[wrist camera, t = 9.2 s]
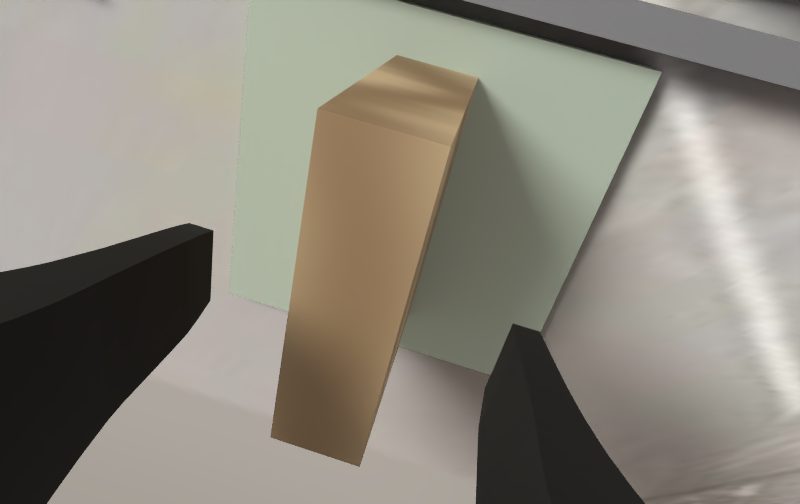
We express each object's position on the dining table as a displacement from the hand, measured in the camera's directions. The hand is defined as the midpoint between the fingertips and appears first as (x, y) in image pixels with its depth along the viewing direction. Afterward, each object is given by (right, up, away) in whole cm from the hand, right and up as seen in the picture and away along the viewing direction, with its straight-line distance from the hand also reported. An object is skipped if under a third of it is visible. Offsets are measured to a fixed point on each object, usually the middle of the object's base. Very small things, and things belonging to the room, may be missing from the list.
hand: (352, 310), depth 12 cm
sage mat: (+1, +3, +6) cm, 7 cm away
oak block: (+1, +3, +6) cm, 6 cm away
